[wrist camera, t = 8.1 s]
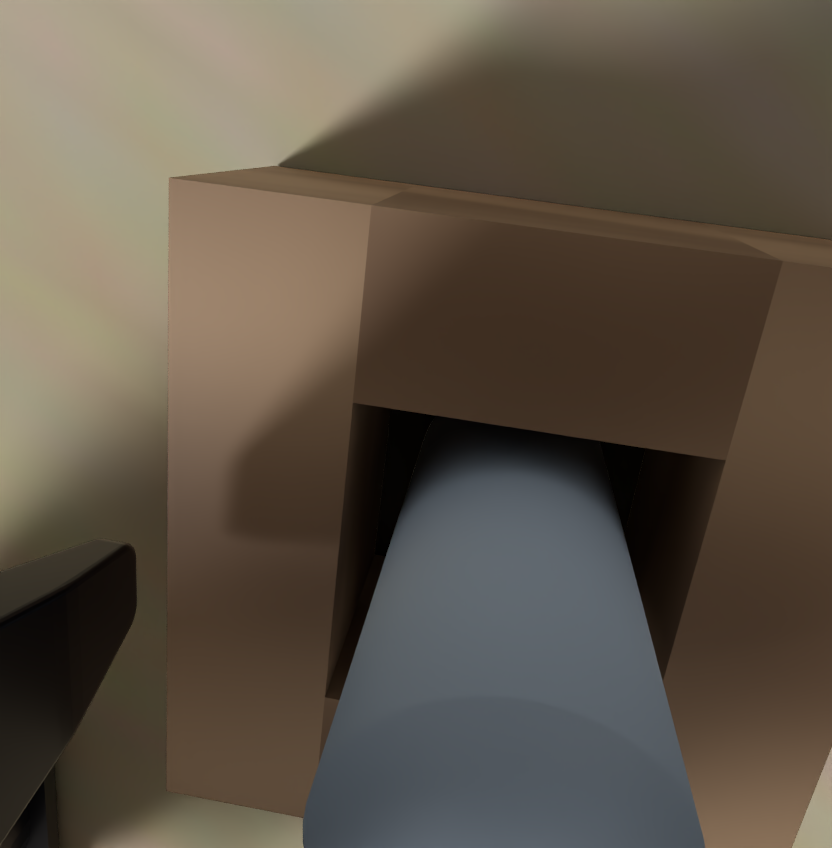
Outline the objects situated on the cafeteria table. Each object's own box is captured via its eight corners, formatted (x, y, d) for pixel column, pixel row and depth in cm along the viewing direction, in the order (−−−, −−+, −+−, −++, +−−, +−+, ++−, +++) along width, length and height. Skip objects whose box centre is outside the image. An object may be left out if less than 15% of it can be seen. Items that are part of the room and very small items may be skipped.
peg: (583, 560, 14) (655, 1034, 7) (410, 532, 14) (291, 955, 7) (620, 394, 13) (756, 740, 6) (431, 366, 13) (316, 662, 6)
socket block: (705, 716, 15) (767, 909, 11) (250, 635, 16) (166, 790, 12) (855, 243, 12) (1011, 291, 8) (274, 166, 12) (169, 177, 9)
